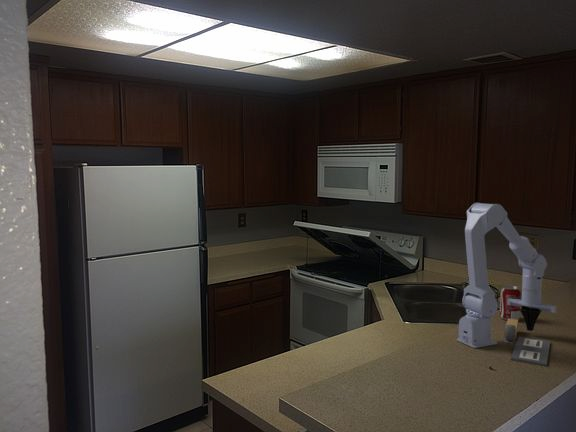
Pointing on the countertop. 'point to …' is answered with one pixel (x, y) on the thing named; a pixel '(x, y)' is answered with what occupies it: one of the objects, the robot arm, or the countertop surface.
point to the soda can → (509, 310)
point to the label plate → (530, 350)
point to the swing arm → (511, 329)
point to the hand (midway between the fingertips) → (530, 329)
